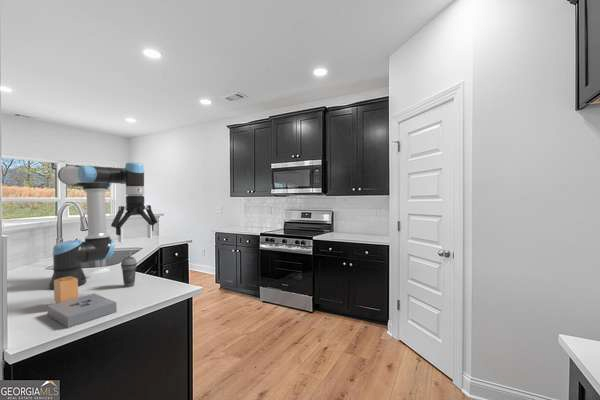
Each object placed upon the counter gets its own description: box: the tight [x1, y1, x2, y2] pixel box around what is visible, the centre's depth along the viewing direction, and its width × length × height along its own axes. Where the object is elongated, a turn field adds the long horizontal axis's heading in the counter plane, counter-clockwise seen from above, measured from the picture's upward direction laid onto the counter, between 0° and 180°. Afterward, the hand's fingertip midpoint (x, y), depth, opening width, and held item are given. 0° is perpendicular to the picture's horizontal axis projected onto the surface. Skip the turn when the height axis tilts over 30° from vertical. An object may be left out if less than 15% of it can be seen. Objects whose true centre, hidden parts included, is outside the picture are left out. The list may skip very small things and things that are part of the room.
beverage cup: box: [120, 247, 138, 288], centre depth 145 cm, size 7×7×20 cm
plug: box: [53, 276, 79, 304], centre depth 120 cm, size 7×6×12 cm
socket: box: [46, 293, 118, 329], centre depth 111 cm, size 20×16×4 cm
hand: (135, 240), depth 131 cm, fingers open, 13 cm apart
